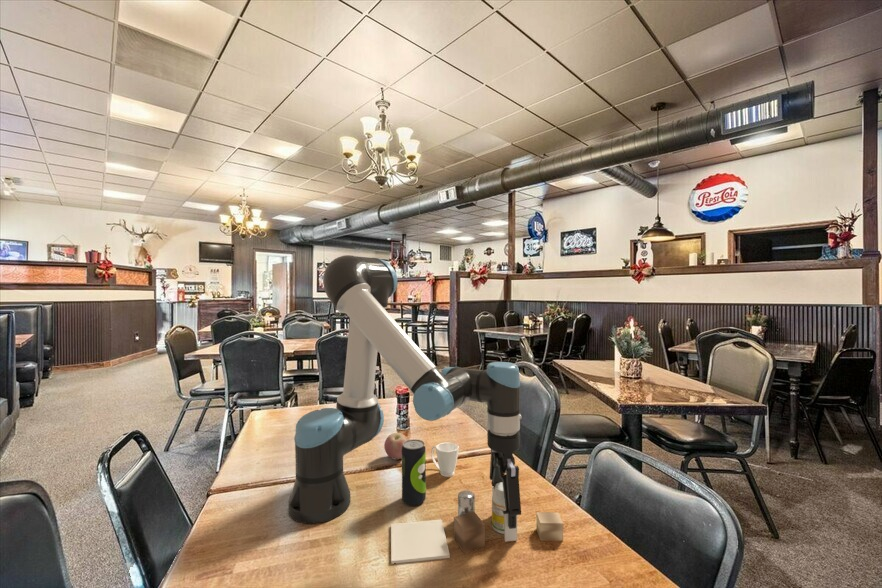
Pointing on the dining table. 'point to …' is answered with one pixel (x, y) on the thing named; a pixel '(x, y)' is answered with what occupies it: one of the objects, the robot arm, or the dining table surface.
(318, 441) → the robot arm
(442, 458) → the cup
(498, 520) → the supplement bottle
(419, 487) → the beverage can
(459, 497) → the cylinder
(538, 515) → the oak block
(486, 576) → the dining table surface
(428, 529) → the coaster
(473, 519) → the walnut block
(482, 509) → the dining table surface
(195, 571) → the dining table surface
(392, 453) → the apple
